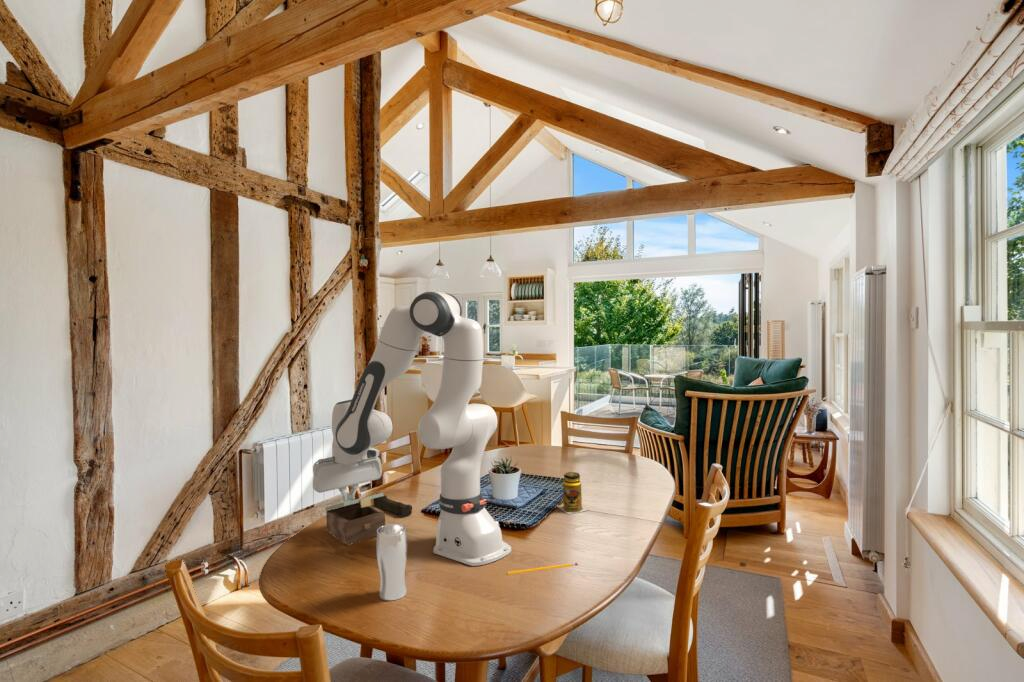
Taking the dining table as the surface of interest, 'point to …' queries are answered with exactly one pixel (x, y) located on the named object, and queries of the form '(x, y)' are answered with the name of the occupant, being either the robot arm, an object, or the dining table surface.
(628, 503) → the dining table surface
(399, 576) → the beer glass
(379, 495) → the lid
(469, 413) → the robot arm
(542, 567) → the pencil
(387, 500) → the dark brown rough bar
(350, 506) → the box
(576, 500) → the condiment
